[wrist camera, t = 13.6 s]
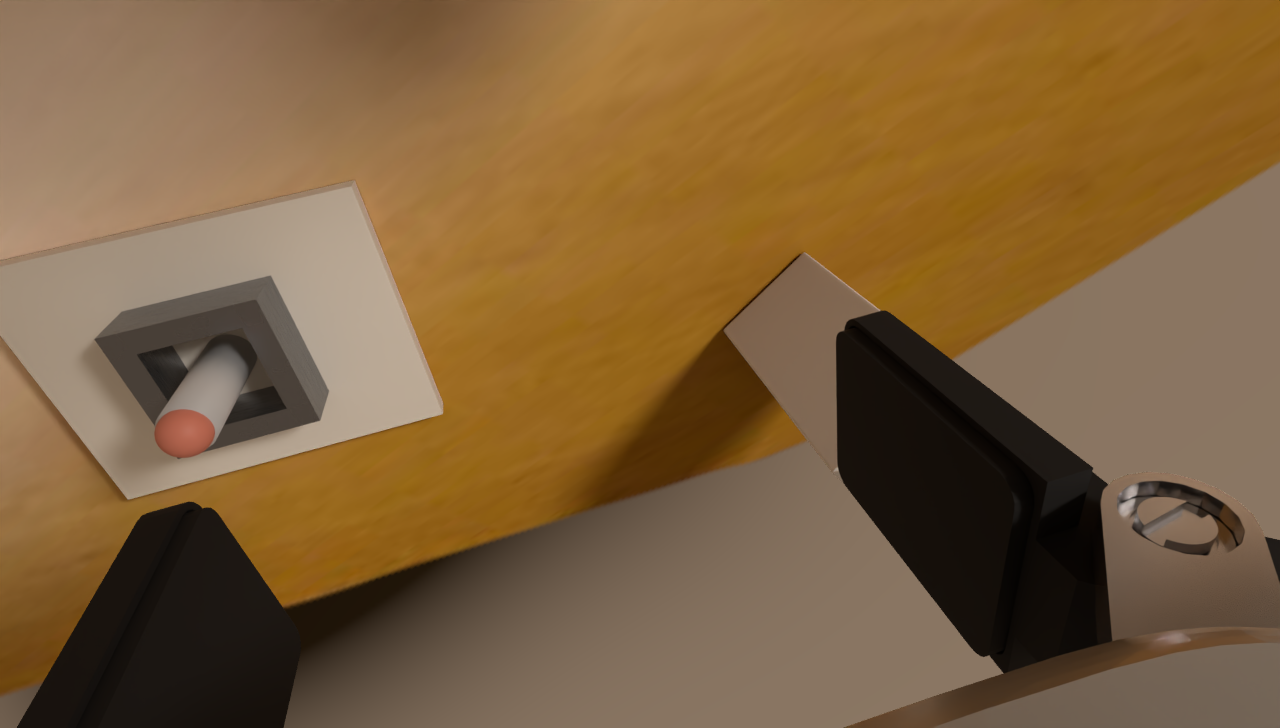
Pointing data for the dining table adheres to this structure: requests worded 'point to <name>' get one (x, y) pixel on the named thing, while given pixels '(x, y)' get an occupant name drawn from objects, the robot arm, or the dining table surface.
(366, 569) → the dining table surface
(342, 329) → the white peg stand
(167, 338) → the grey square socket block
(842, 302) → the milk carton
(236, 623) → the robot arm
